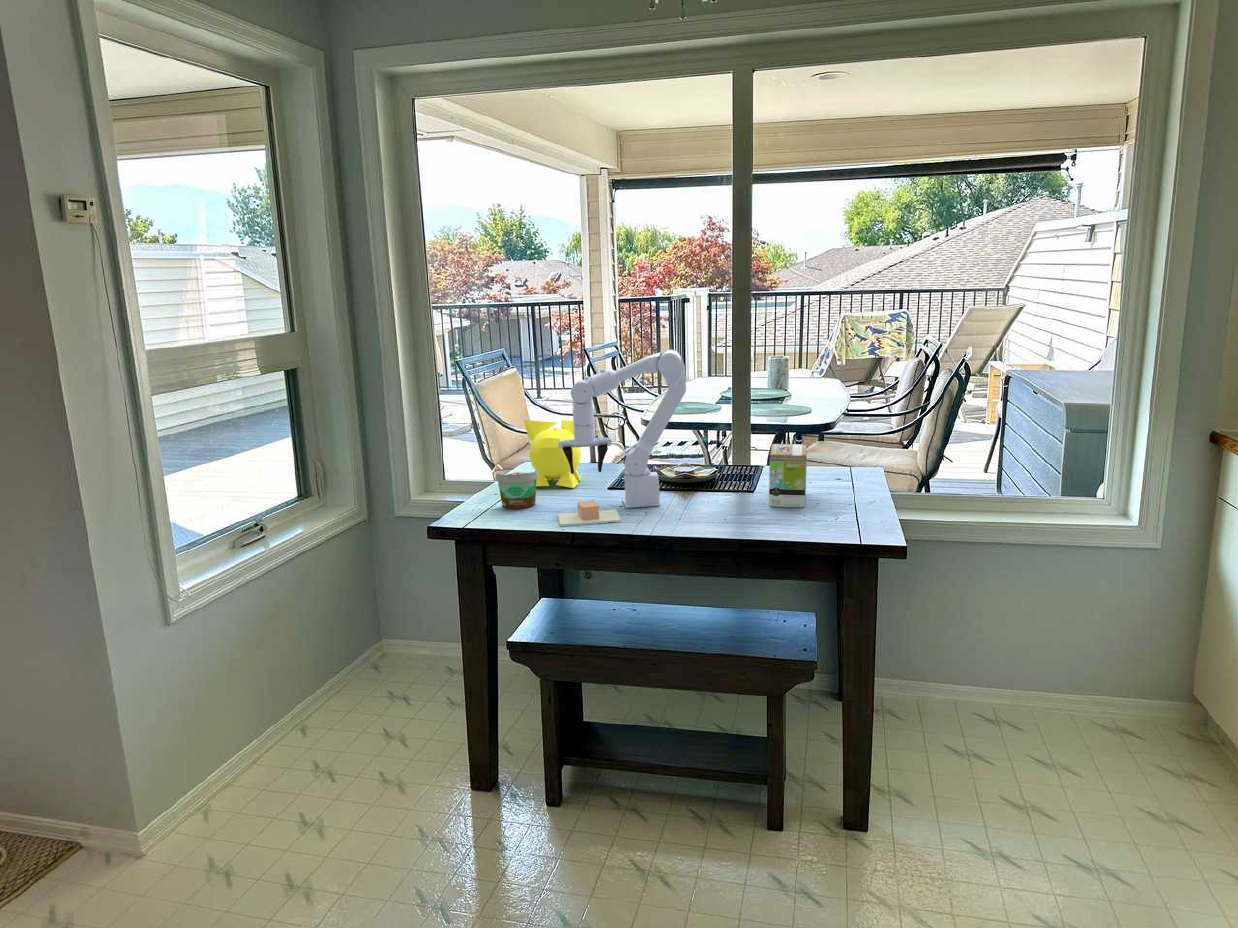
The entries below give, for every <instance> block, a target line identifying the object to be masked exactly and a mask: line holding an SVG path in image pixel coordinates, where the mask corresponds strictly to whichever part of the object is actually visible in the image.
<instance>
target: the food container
mask: <svg viewBox="0 0 1238 928" xmlns="http://www.w3.org/2000/svg"><path fill="white" fill-rule="evenodd" d="M538 477H539V475H538V471H537V469H536V470H535V471H532V472H512V473H509V474H501V473H498V472H496V474H495V478H494V479H495V481H496V482H497V484H498V490H499V494H500V495H499V496H500V500H501V507H502V508H504V509H505V510H513V511H515V510H517V511H518V510H525V509H530V508H533V507H534V506H536V498H537V497H536V496H537V486H536V479H537V478H538Z"/></svg>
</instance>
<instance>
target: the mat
mask: <svg viewBox="0 0 1238 928" xmlns="http://www.w3.org/2000/svg"><path fill="white" fill-rule="evenodd" d="M557 519H558V523H559V527H561V528H562V527H573V526H587V525H598V523H601V524H609V523H608V522H615V523H622V518H621V516H620V514H619V513H618V510H617V509H606V510H605V509H604V510H602V509H601V510H599V519H591V520H582V519H581V518H580V516H579V515H578V511H577V512H565V513H564V512H562V513H557Z"/></svg>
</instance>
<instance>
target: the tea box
mask: <svg viewBox="0 0 1238 928" xmlns="http://www.w3.org/2000/svg"><path fill="white" fill-rule="evenodd" d="M769 453H770V454H769V470H768V471H769V474H768V475H769V476H768V477H769V478H768V479H769V481H768V483H769V484H768V506H769V507H773V508H774V507H776V508H805V507H806V496H807V495H806V492H807V467H808V466H807V461H808V459H807V457H808V456H807V453H808V452H807V444H802V443H801V444H798V443H797V444H795V443H794V444H791V443H789V444H787V443H772V444H771V448H770V452H769Z"/></svg>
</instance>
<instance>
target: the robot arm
mask: <svg viewBox="0 0 1238 928" xmlns="http://www.w3.org/2000/svg"><path fill="white" fill-rule="evenodd" d="M685 369H686V367H685V363H684V361H683V357H682V356H681V354H680V353H679V352H678V351H676V349H666V350H664V351H663V352H662V353H661V351H660V352H657V353H654V354H651V355H650V354H649V355H648V356H645V357H643V358H640V359H639V360H637V361H635V362H632V363H631V364H630V363H629V364H628V365H626V366H624V367H621V368H620V369H617V370H614V369H611V368H607V369H606V368H602V369H600V371H599V372H598V373H596V374H594V375H592V376H585V377H584V379H581V380H578V381H577V382H575V384H573V386H572V387H571V390H570V396H571V399H572V421H573V425H574V439H571V440H564V441H558V446H559V449H563V452H564V454H565V456H566V458H567V460H568V462H569V465H570V469H571V474H574V468H573V452H572V448H575V447H580V448H590V447H596V448H597V449H596V450H597V471H598V473H602V471H603V470H602V467H603V464H604V461H605V460H604V459H605V457H606V454H607V452H608V449H609V448H608V447H611V446H612V439H611V437H596V435H595V413H594V412H595V410H594V409H595V408H594V406H593V397H596V398H597V397H600V396H602V395H604V394H607V393H609V392H612V391H613V390H616V389H618V387H619V385H620V383H621V382H622V381H626V380H629V379H631V378H633V377H636V376H638V375H640V374H643V373H646V372H648V373H652V374H653V373H654V374H657V373H658V371H659V373H660V374H661V375H662V378H664V379H665V383H666V386H667V390H666V392H665V394H664V395H663V397H662V399H661V401H660V403H659V404H658V405H657V408H656V409H655V411H654V413H653V415H652V417H651V418H650V420H649V422H648V424H647V425H646V427H645V429H644V431H643V432H642V434H641V436H640V437H639V438H638V441H637V442H636V444H635V445H634V446H632V447H631V448H630V449H628V451H627V453H626V457H625V459H624V468H625V470H624V472H623V473H624V474H623V475H624V476H623V477H624V493H625V494H624V496H625V498H623V499H622V502H623V504H624V507H625V508H626V509H629V508H630V509H631V508H634V509H635V508H645V507H647V508H648V507H659V506H660V505H661V503H660V481H659V475H658V472H657V471H651V469H649V467H648V464H649V460H650V457H651V455H652V452H653V451H654V448H655V446H656V445H657V442H658V441H659V440H660V438H661V435H662V434H663V432H664V431H665V429H666V427H667V425H668V423H669V422H670V420H671V418H672V417H673V415H674V413H675V412H676V410H677V408H678V406H679V405H680V403H681V401H682V399H683V398H684V396H685V394H686V392H687V381H686V380H687V379H686V370H685Z"/></svg>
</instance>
